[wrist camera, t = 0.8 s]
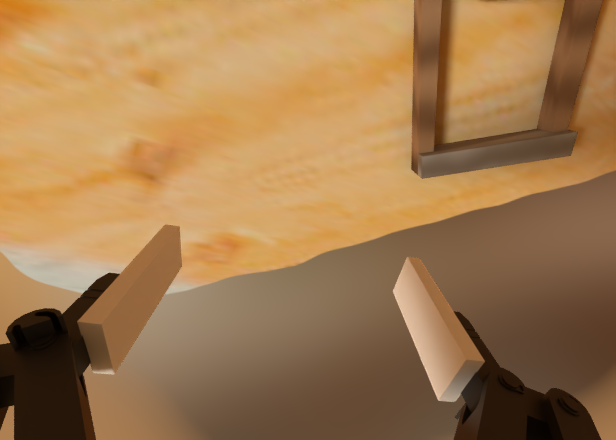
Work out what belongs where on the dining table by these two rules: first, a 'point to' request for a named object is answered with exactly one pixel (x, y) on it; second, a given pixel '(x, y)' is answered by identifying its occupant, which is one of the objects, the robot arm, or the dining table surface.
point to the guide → (508, 147)
